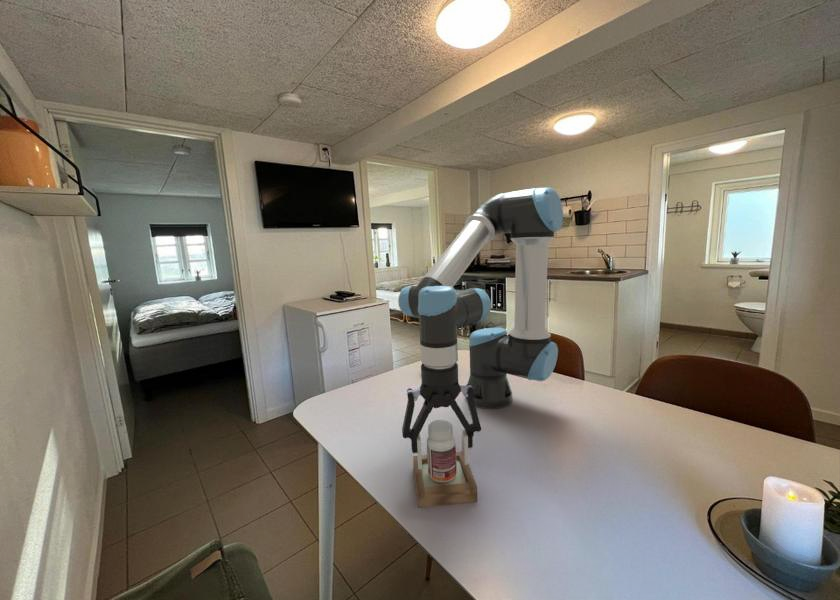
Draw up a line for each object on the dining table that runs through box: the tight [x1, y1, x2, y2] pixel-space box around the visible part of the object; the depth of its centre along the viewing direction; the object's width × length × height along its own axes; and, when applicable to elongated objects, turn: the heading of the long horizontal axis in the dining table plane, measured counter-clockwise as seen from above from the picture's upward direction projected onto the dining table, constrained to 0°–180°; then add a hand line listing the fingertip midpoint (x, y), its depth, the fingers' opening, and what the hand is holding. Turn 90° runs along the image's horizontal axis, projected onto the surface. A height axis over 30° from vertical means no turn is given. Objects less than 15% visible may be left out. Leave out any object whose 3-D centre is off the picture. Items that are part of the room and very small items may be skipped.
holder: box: [412, 451, 479, 509], centre depth 74 cm, size 12×12×3 cm
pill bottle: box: [426, 419, 457, 483], centre depth 73 cm, size 6×6×11 cm
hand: (442, 462), depth 74 cm, fingers open, 9 cm apart
